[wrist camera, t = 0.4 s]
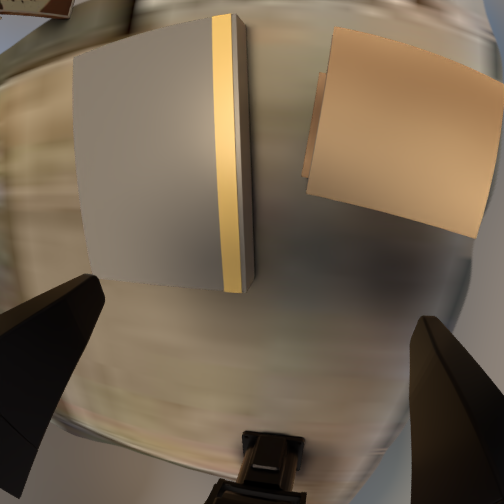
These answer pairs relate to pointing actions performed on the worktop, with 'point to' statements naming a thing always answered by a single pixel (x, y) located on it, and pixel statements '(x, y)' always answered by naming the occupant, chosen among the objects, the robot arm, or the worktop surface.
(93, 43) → the worktop surface
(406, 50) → the tan piece
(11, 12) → the food container
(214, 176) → the plate
